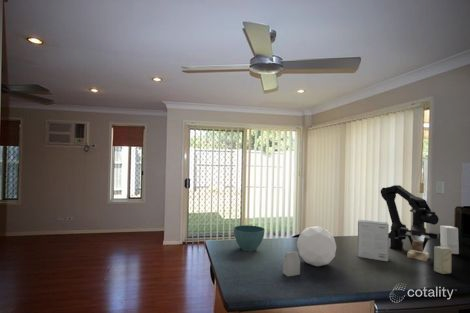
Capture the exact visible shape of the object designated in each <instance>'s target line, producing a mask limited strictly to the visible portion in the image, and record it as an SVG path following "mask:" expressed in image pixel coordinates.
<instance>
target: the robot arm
mask: <svg viewBox="0 0 470 313" xmlns="http://www.w3.org/2000/svg"><path fill="white" fill-rule="evenodd" d="M380 195H381V198H382V199H383V200H384V201H385V203H386V206H387V210H388V213H389V217H390V220H391V226H390V231H389V238H388V239H390V246H389V249H391V250H392V249H393V250H397V251H403V249H404V248H405V247H404V246H405V243H404V240H406V238H408V240H409V242H410V246H412V241H413V240H414V237H413V236H418V237H422V236H424V238H423V241H424V244H423V249H424V250H425V248H426V246H427V245H428V241H429V240H430V241H431V240H438V239H439V236H440V233H438V232H434V231H429V232H427V228H426V227H425V224H430V225H434V226H435V225H437V224H438V223H439V217H438V215H437V214H436V212H435V211H432V210H431V208H430V206H429V205H428V202H427V200H425V199H424V198H422V197H419V196H415V195H414V194H412V193H411V192H409V191H408V190H407V189H405V188H404V187H403V186H401V185H400V184H395V185H391V186H387V187H382V188H381V189H380ZM397 195H399V196H400V197H401V198H403V199H404V200H406V202H407V203H408V205H409V206H410V207H411V209H410V210H409V212H410V213H411V212H412V225H411V228H410V229H409V228H408V227H407V225H406V224H404V223H402V221H401V218H400V215H399V211H398V207H397V205H396V204H397V203H396V201H395V200H396V198H397Z"/></svg>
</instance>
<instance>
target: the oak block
mask: <svg viewBox="0 0 470 313" xmlns="http://www.w3.org/2000/svg"><path fill="white" fill-rule="evenodd" d="M429 255H430V254H429V252H427V251H423V252H420V251H415V250H412V248H410V249H409V250H408V251H407V255H406V257H407V258H409V259H413V258H414V260H418V261H423V262H427V261H428V260H429Z"/></svg>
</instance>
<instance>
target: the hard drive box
mask: <svg viewBox="0 0 470 313" xmlns="http://www.w3.org/2000/svg"><path fill="white" fill-rule="evenodd" d="M389 228H390V227H389V223H388V222H387V221H377V220H364V219H358V220H357V258H362V259H370V260H376V261H382V262H383V261H384V262H389V239H390V238H389V233H390V231H389V230H390V229H389Z"/></svg>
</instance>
